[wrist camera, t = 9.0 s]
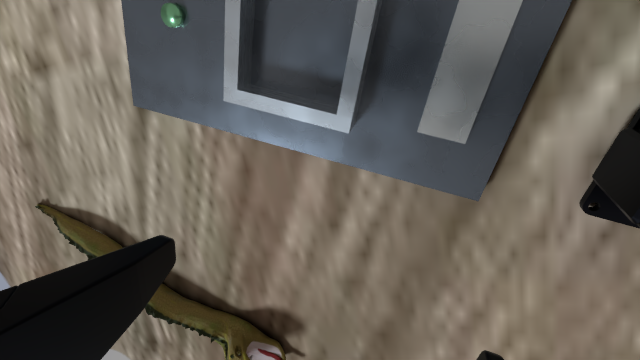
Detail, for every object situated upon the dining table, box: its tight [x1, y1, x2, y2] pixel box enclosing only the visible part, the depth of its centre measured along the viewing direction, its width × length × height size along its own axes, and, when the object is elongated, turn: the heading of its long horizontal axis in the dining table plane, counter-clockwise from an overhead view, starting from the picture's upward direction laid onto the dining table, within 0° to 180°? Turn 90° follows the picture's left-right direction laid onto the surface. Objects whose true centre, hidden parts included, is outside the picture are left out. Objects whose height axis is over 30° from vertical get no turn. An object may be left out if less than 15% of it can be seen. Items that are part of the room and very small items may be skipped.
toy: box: [35, 204, 286, 360], centre depth 30 cm, size 4×28×5 cm, turn 65°
